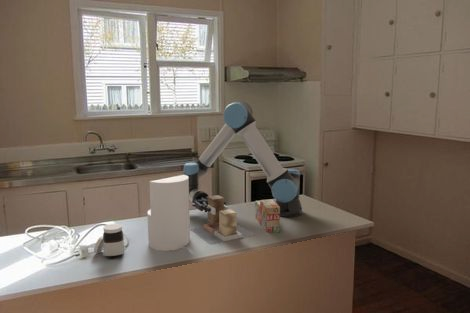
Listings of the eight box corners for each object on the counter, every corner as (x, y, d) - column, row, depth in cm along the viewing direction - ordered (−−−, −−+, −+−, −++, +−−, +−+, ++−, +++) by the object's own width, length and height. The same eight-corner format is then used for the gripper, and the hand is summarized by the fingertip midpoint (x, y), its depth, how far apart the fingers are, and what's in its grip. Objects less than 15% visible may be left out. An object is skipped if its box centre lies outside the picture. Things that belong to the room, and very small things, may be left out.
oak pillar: (230, 232, 177) (230, 209, 176) (236, 236, 173) (236, 212, 171) (219, 235, 175) (219, 210, 173) (225, 239, 170) (225, 214, 168)
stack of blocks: (255, 218, 200) (255, 194, 198) (267, 217, 201) (267, 194, 199) (266, 233, 179) (266, 207, 177) (279, 232, 180) (280, 206, 178)
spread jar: (124, 259, 152) (123, 230, 150) (93, 262, 149) (91, 233, 147) (124, 247, 164) (122, 220, 162) (94, 250, 161) (93, 222, 159)
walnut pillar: (218, 217, 186) (218, 195, 184) (223, 221, 181) (224, 197, 179) (207, 219, 183) (207, 196, 181) (213, 223, 178) (213, 199, 177)
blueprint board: (232, 223, 192) (232, 218, 192) (255, 236, 175) (255, 231, 175) (190, 231, 182) (190, 226, 181) (210, 246, 164) (210, 241, 164)
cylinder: (198, 242, 169) (197, 177, 164) (164, 254, 157) (162, 185, 152) (173, 232, 181) (172, 171, 176) (140, 242, 169) (137, 177, 164)
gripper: (216, 202, 202) (239, 215, 182) (181, 208, 193) (202, 222, 173) (216, 188, 200) (239, 199, 181) (181, 193, 191) (202, 205, 171)
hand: (221, 210), depth 177 cm, fingers closed on walnut pillar, 5 cm apart
